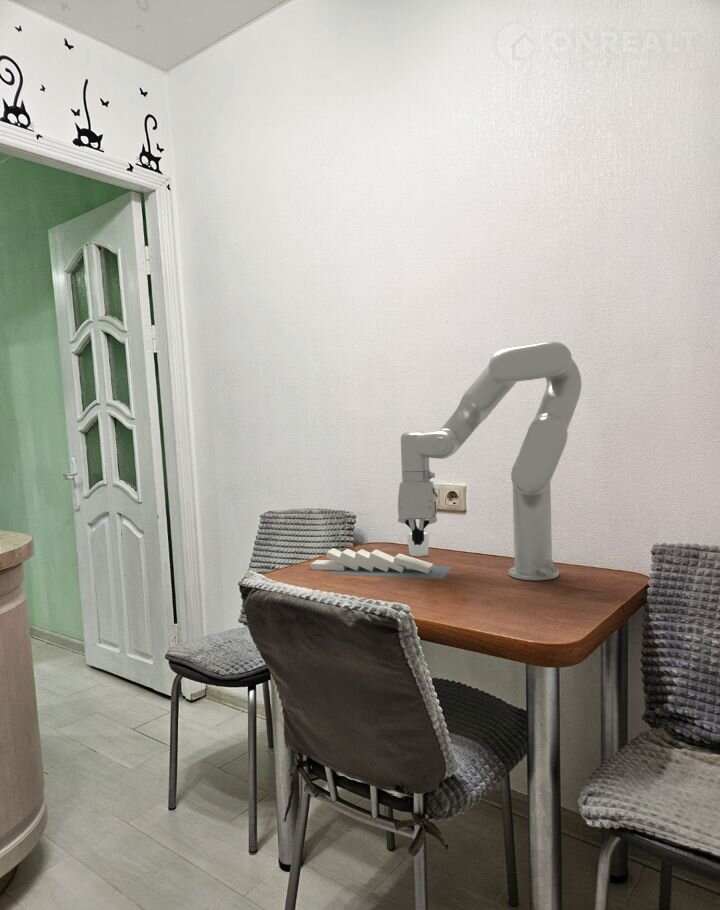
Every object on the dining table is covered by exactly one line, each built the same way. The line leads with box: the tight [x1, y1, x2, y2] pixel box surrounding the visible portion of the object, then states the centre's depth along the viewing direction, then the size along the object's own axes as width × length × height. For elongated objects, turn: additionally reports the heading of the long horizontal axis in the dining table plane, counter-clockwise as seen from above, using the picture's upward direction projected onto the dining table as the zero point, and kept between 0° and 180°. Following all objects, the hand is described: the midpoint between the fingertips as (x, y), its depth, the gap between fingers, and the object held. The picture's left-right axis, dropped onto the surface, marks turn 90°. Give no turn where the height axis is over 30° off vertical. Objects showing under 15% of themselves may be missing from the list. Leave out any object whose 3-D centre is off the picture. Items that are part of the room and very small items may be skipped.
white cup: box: [406, 531, 430, 557], centre depth 199 cm, size 7×7×7 cm
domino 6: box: [393, 553, 434, 574], centre depth 178 cm, size 2×5×10 cm
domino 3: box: [340, 548, 376, 571], centre depth 183 cm, size 2×5×10 cm
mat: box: [328, 565, 454, 580], centre depth 180 cm, size 32×14×1 cm, turn 71°
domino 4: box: [354, 548, 391, 572], centre depth 181 cm, size 2×5×10 cm
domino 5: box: [369, 549, 407, 573], centre depth 180 cm, size 2×5×10 cm
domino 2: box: [325, 547, 361, 571], centre depth 184 cm, size 2×5×10 cm
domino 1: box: [309, 559, 348, 571], centre depth 186 cm, size 2×5×10 cm
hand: (418, 543), depth 177 cm, fingers closed
